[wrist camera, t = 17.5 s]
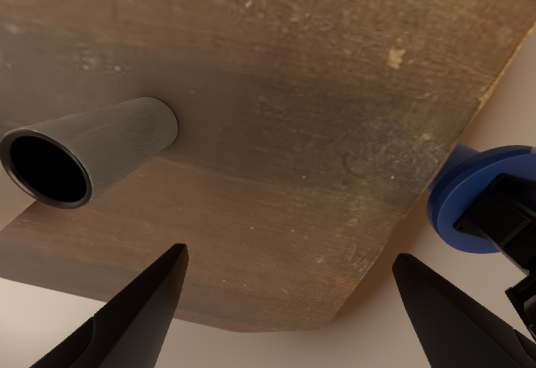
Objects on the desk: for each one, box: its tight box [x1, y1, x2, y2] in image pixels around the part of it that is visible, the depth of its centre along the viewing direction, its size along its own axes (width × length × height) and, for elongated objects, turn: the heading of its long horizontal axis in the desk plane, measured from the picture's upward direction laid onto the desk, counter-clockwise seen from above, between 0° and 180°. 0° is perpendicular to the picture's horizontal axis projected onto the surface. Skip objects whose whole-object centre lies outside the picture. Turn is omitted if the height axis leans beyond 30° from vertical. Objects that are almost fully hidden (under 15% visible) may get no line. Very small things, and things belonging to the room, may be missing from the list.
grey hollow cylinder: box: [0, 97, 178, 209], centre depth 15 cm, size 4×4×10 cm
